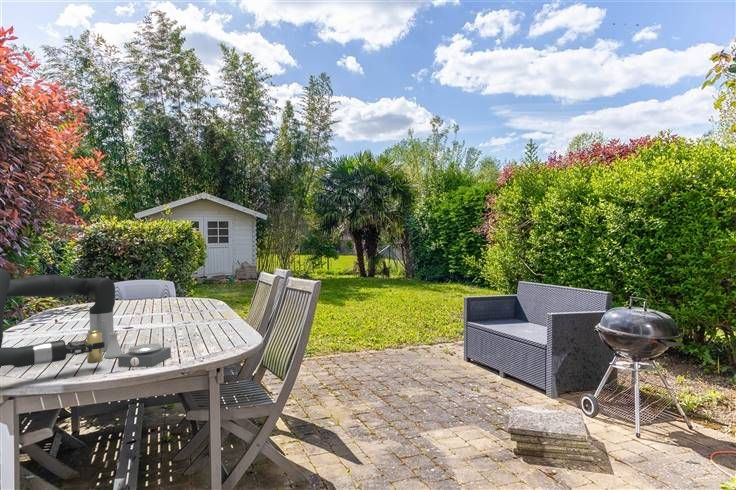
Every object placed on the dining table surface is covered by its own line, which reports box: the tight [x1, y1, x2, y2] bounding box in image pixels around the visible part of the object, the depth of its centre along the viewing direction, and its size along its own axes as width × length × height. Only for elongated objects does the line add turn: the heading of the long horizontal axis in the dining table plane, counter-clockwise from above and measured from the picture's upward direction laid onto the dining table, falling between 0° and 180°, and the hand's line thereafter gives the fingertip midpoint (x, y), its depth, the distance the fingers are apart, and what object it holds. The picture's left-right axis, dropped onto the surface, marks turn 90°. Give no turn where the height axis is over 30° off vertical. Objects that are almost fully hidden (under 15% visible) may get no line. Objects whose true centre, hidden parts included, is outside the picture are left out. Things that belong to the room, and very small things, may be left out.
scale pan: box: [128, 343, 162, 354], centre depth 176 cm, size 12×12×1 cm
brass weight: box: [86, 330, 104, 364], centre depth 166 cm, size 5×5×12 cm
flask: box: [103, 332, 124, 359], centre depth 185 cm, size 7×7×10 cm
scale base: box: [117, 346, 172, 368], centre depth 176 cm, size 14×14×4 cm
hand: (102, 343), depth 168 cm, fingers closed on brass weight, 5 cm apart
